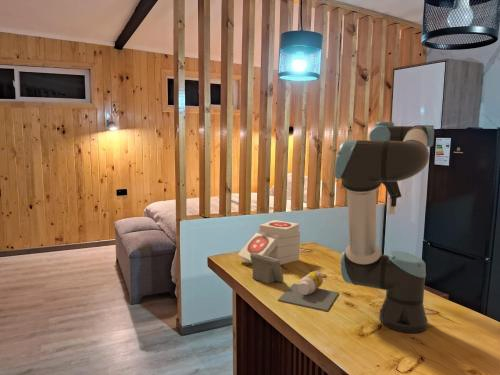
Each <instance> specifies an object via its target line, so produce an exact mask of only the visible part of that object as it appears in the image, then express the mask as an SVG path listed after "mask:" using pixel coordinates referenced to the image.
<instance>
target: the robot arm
mask: <svg viewBox="0 0 500 375" xmlns="http://www.w3.org/2000/svg"><path fill="white" fill-rule="evenodd" d="M368 136H369V137H368V139H369V140H361V139H354V140H350V139H348V140H344V141H342V142H341V144H340V145H339V147H338V149H337V150H338V151H337V153H336V159H335V165H334V178H335V179H338V180H340V181H341V185H342V186H341V187H343V189H344V190H346V195H347V216H348V217H347V218H348V219H347V220H348V236H349V245H347V247H346V248H345V250H343V251H342V254H341V256H340V274H341V278H342V279H343V281H344V282H345V283H348V284H351V285H353V286H361V287H365V288H372V289H377V290H382V291H386V292H385V298H384V300H383V302H382V306H381V308H380V309H379V313H378V314H379V315H378V320H379V322H380V323H381V324H383V326H385V327H387V328H389V329H391V330H393V331H397V332H399V333H405V334H419V333H422V332H425V331H426V330H427V328H428V317H427V315H426V311H425V306H424V297H425V296H424V295H425V280H426V277H427V273H426V272H427V270H426V265H427V264H426V262H425V261H424V260H423V259H422V258H420V257H419V256H417V255H415V254H412V253H410V252H405V251H399V250H398V251H396V250H392V251H389V253H388V254H382V251H381V249H380V247H379V246H378V245H377V189H379V188H380V187H381V185H382V184H383V185H384V187H385V189H386V191H387V193H388V195H389V198H388V209H387V211H388V212H387V214H388V216H389V215H395V214H396V212H395V211H396V207H397V202H398V201H397V199H399V198H402V193H401V190H400V186H399V184H398V183H399V182H400V181H404V180H407V179H409V178H412V177H415V176H416V175H418V174H419V173H420V172H422V171H423V170H424V169H425V168H426V167H427V164H428V163H429V159H430V154H429V150H428V148H430V147H433V145H434V137H435V128H434V126H427V125H413V126H412V125H409V126H408V125H406V126H405V125H404V126H403V125H395V123H394V122H393V121H377V122H375V123H374V127H373V128H372V129H371V130H370V132H369V135H368Z"/></svg>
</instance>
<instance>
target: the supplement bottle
mask: <svg viewBox="0 0 500 375" xmlns="http://www.w3.org/2000/svg"><path fill="white" fill-rule="evenodd" d="M323 278H324V277H323V276H322V275H321V273H319V272H318V271H313V270H312V271H311V272H309V273H308V274H306V275H305V276H303V277H302V278H301V279H300V280H299V282H298V284H299V285H298V291H299V292H300V293H301V294H302V295H306V294H311V293H313V292H314V291H315V290H316V289H317V288H320V287H321V286H322V284H323V282H324V279H323Z"/></svg>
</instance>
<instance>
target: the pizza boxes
mask: <svg viewBox="0 0 500 375" xmlns="http://www.w3.org/2000/svg"><path fill="white" fill-rule="evenodd" d="M300 238H301V231H300V223H298V222H297V223H296V222H290V221H283V220H276V219H272V220H270V221H267V222H264V223H261V224H259V228H258V232H256V233H254V234H253V236H252V237H251V238H250V239H249V240H248V242H247V243H246V244H245V245H244V246H243V247H242V248H241V250H240V251H239V252H238V253H237V256H238V257H239V258H240V259H241V260H243V261H246V262H248V263H250V264H252V262H251V258H250V254H251V253H257V254H260V255H264V256H267V257H271V258H274V259H278V260H279V261H280V265H281V266H282V265H284V264H287V263H293V262H297V261H299V260H300V246H301V244H300V243H301V242H300V241H301V239H300Z"/></svg>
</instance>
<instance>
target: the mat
mask: <svg viewBox="0 0 500 375" xmlns="http://www.w3.org/2000/svg"><path fill="white" fill-rule="evenodd" d="M298 285H299V283H298V284H297V283H293V284H292V285H291V286H290V287H288V289H286V290H285V292H284V293H283V294H281V296H280V297H279V298H278V299H277V301H278V302H283V303H286V304H291V305H296V306H301V307H305V308H311V309H315V310H319V311H324V312H328V311H329V309H330V308H331V306H333V303H334V302H335V300H336V299H337V297H338V295H339V294H340V292H339V291H335V290H328V289H325V288H320V287H319V288H317V289H316V290H315V291H314V292H313V293H311V294H306V295H302V294H301V293H300V292H299V291H298Z"/></svg>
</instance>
